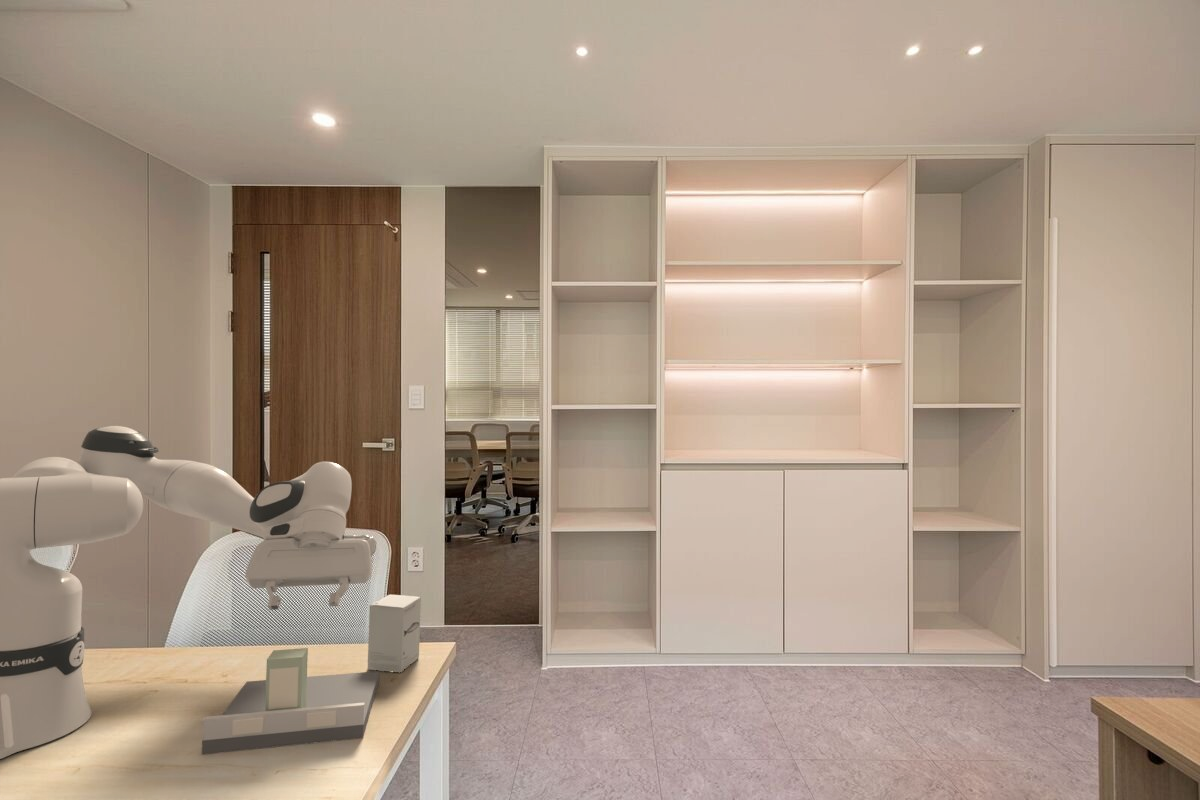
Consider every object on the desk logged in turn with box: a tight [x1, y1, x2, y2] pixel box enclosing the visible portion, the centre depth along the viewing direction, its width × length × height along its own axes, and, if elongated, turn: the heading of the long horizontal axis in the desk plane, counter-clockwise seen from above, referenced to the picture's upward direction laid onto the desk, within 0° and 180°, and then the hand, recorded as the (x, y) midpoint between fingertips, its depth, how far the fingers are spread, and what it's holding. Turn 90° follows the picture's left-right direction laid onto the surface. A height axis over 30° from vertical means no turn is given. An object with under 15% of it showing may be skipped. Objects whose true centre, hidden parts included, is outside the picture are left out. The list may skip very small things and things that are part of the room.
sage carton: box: [265, 647, 309, 711], centre depth 93 cm, size 5×4×10 cm
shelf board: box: [201, 670, 380, 755], centre depth 98 cm, size 22×19×5 cm
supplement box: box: [366, 594, 422, 674], centre depth 118 cm, size 7×7×13 cm
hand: (303, 606), depth 101 cm, fingers open, 8 cm apart
